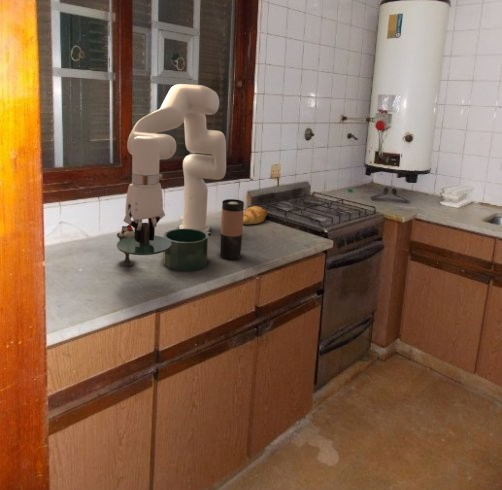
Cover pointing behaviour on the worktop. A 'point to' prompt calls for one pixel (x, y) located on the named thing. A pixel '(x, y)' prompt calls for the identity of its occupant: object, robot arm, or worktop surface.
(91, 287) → the worktop surface
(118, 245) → the lid
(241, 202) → the travel mug
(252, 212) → the bread loaf
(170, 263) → the pot
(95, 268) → the worktop surface
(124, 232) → the sundae
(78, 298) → the worktop surface
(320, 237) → the worktop surface
